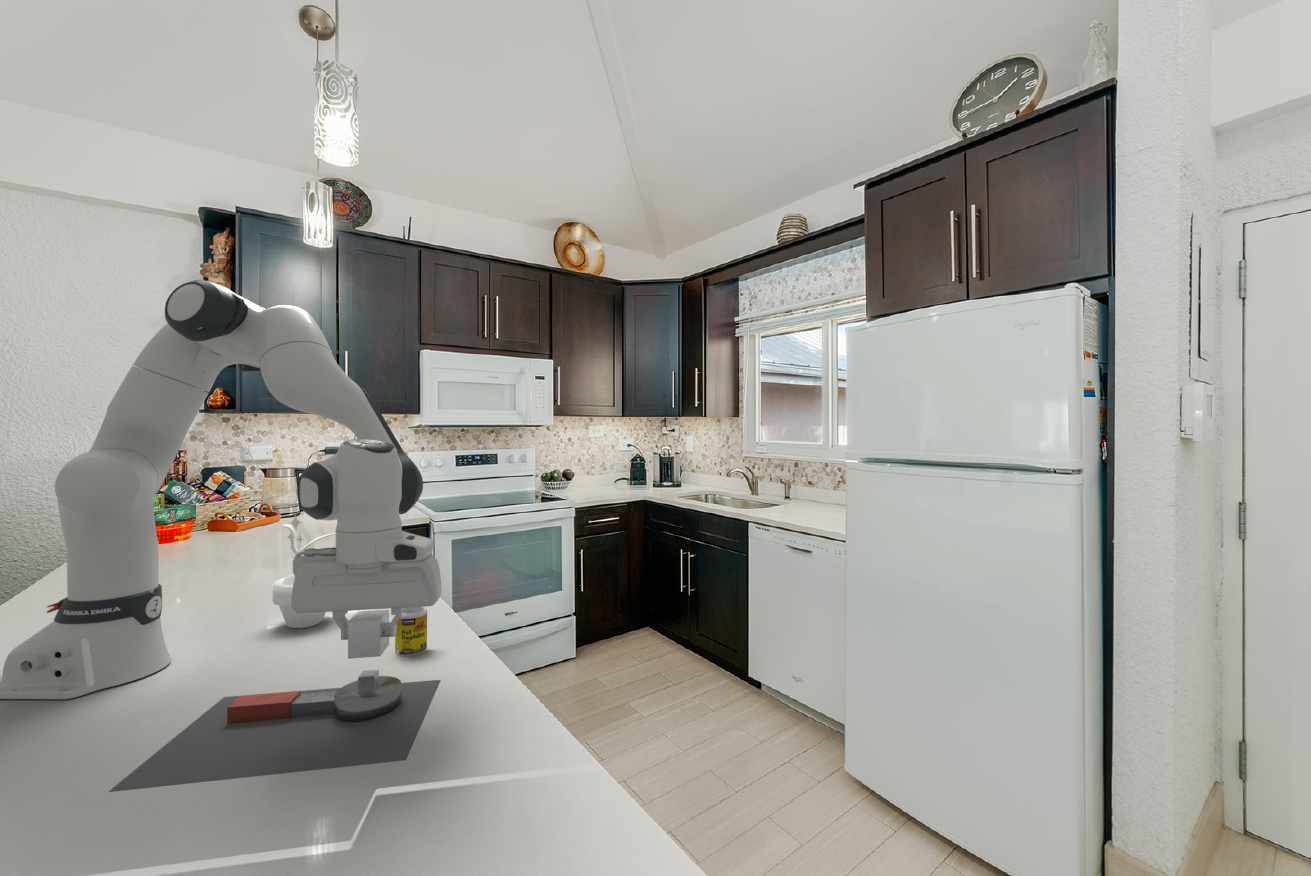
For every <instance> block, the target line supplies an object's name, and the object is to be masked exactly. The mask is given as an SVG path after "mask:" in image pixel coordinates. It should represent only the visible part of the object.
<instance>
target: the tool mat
mask: <svg viewBox="0 0 1311 876" xmlns="http://www.w3.org/2000/svg"><path fill="white" fill-rule="evenodd" d="M401 683H402V700H401V703H400V705H399V706H398V707H397V708H396V709H395V710H393V711H392V712H390V713H388V714H386V715H384V716H382V717H379V718H376V719H372V720H368V721H363V722H343V721H340V720H338V719H336V718H335V716H334V714H328V715H317V716H306V717H294V718H290V719H280V720H268V721H257V722H246V723H234V724H227V707H228V706H229V705H230V704H232V703H233V702H234V701H235V700H236V699H237V698H239V697H240V696H241V695H231V696H223V697H222V698H221V699H220V700H218V701H217V702H216V703H215V704H214V705H212V706H211V707H210V708H209V709H207V710H206V711H205V712H204V713H202V715H200V716H199V717H198V718H196V719H195V720H194V721H193V722H192V723H190V724H189V725H188V726H187V727H186V728H184V729H183V730H182V731H181V732H179V733H178V734H177V735H176V736H175V737H173V738H171V740H169V741H168V742H167V743H166V744H165V745H164V746H162V747H160V749H159V750H157V751H156V752H155V753H154V754H153V755H151V756H150V757H148V759H147V760H144V762H143V763H142V764H140V765H139V766H138V767H137V768H136V769H134V770H133V771H132V772H131V773H129V774H128V775H127V776H125V777H124V778H123V779H122V780H121V781H120V782H118V783H117V784H115V786H113V787H112V788H111V789H109V791H108V792H110V793H111V792H121V791H128V790H139V789H148V788H158V787H166V786H177V785H186V784H193V783H194V784H195V783H204V782H212V781H221V780H222V781H223V780H230V779H231V780H233V779H240V778H242V779H243V778H250V777H251V778H252V777H261V776H262V777H263V776H270V775H278V774H286V773H287V774H289V773H298V772H307V771H315V770H316V771H317V770H318V771H319V770H325V769H336V768H337V769H338V768H345V767H353V766H354V767H355V766H364V765H374V764H381V763H392V762H401V761H406V760H407V758H408V756H409V753H410V751H411V749H412V746H413V744H414V742H415V740H416V737H417V736H418V733H419V730H420V729H421V727H422V724H423V722H424V719H425V717H426V715H427V712H428V710H429V708H430V705H431V704H432V701H433V699H434V697H435V694H436V692H437V689H438V688H439V685H440V683H441V679H435V680H434V679H433V680H431V679H430V680H419V681H408V682H401ZM340 688H341V687H334V688H321V689H320V688H319V689H309V690H300V691H301V694H307V693H320V692H332V691H338V690H339V689H340Z"/></svg>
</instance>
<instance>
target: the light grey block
mask: <svg viewBox="0 0 1311 876" xmlns="http://www.w3.org/2000/svg"><path fill="white" fill-rule="evenodd" d="M387 622H390V609H374V610H357V612H356V613H355V614H354V615H353V616H352V617H351V618H350V619H348V640H347V660H350V659H363V658H374V657H375V658H376V657H377V658H378V657H381V656H382V655H383V654H384V652H385V650H386V649H387V648H388V647H389V645H390V637H383V633H384V631H383V626H384V625H385V624H386V623H387Z"/></svg>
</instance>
